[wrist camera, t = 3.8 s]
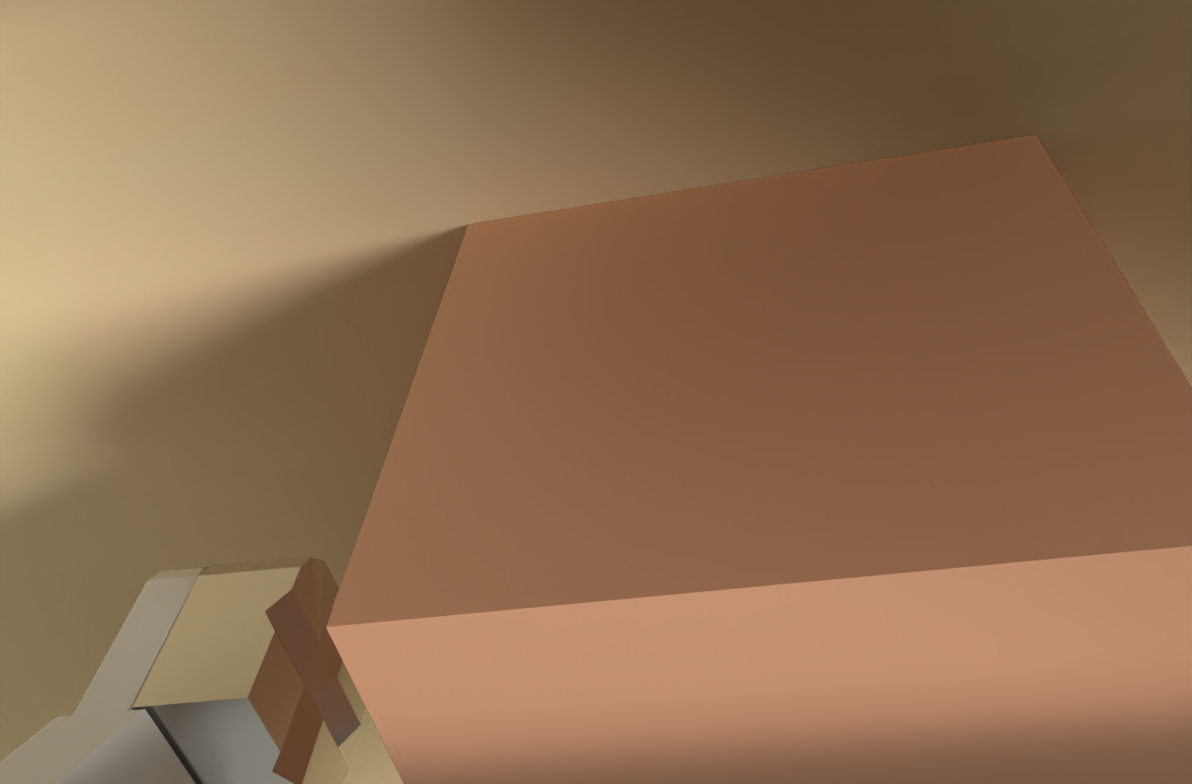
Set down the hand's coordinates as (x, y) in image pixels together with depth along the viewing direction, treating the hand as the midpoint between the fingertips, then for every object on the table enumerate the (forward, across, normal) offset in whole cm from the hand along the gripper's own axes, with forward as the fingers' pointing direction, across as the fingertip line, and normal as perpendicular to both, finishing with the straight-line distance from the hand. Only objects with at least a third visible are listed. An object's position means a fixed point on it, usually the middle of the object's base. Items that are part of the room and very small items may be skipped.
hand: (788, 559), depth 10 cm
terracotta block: (+2, 0, 0) cm, 2 cm away
